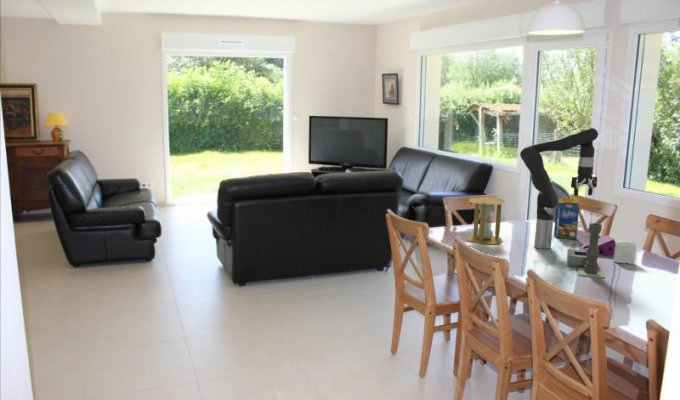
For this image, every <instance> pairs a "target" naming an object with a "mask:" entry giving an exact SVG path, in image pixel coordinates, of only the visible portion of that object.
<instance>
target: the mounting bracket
mask: <svg viewBox="0 0 680 400" xmlns="http://www.w3.org/2000/svg"><path fill="white" fill-rule="evenodd" d="M615 241H616V240H615V239H614V238H613V237H610V236H608V235H607V234H606V235H603V236H600V238H599V239H598V249H599V252H601V253H603V254H604V255H606V256H614V253H615V245H616V242H615ZM589 244H590V241H589V242H587V243H585V244H583V245H581V246H580V247H579V250H582V251H587V249H588V247H589Z"/></svg>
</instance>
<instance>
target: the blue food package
mask: <svg viewBox="0 0 680 400" xmlns="http://www.w3.org/2000/svg"><path fill="white" fill-rule="evenodd" d="M555 208H556V209H555V218H554V219H555V221H554V230H553V231H554V232H553V233H554V234H553V236H554V237H555V238H556V239H567V240H568V239H569V240H570V239H571V240H572V239H577V236H578V235H577V234H578V225H579V214H580V207H579V199H578V198H558V204H557V206H556V207H555Z"/></svg>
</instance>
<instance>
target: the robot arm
mask: <svg viewBox="0 0 680 400" xmlns="http://www.w3.org/2000/svg"><path fill="white" fill-rule="evenodd" d="M598 136H599V132H598V130H597V129H596V128H594V127H589V126H586V127H583V128H581V130H580V131H579V132H575V133H569V134H567V135H565V136H563V137H560V138H557V139H554V140H550V141H545V142H540V143H536V144H532V145H529V146H526V147H524V148H523V149H522V150H521V151H520V153H519V157H520V158H521V160H522V161H523V163H524V165H525V166H526V168H527V169H528V171H529V172H530V180H531V182H532V185H533V187H534V188H535V189H536V190H537V191H538V195H537V198H536V199H537V200H536V221H535V223H536V224H535V231H534V232H535V235H534V243H533V244H534V245H533V247H534V248H535V249H542V250H550V249H551V248H552V240H553V227H554V214H553V213H552V212H549V211H548V210H547V209H554V208H557V205H558V203H559V197H558V193H557V192H556V190H555V189H554V187H553V185H552V181H551V179H550V176H549V173H548V172H547V170H546V168H545V165H544V160H543V157H542V154H541V153H543V152H564V151H568V150H571V149H572V148H575V147H578V146H579V158H578V164H577V176H574V175H572V177H571V183H570V188H573V195H574V196H575V197H578V196H579V190H580V189H579V188H580V187H581V186H583V185H587V186H588V190H587V196H593V192H594V188H597V186H598V185H597V184H598V176H596V175H593V174H594V165H595V163H594V162H595V147H594V145H593V144H594V141H595V140H597V138H598ZM546 208H547V209H546Z"/></svg>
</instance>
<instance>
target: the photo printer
mask: <svg viewBox="0 0 680 400" xmlns="http://www.w3.org/2000/svg"><path fill="white" fill-rule="evenodd" d="M615 243H616V245H615V253H614V255H613V262H614V263H619V264H626V263H628V265H634V264H635V260H636V258H635V257H636V251H637V244H636V242H634V241H630V240H617V241H616V242H615Z"/></svg>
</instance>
